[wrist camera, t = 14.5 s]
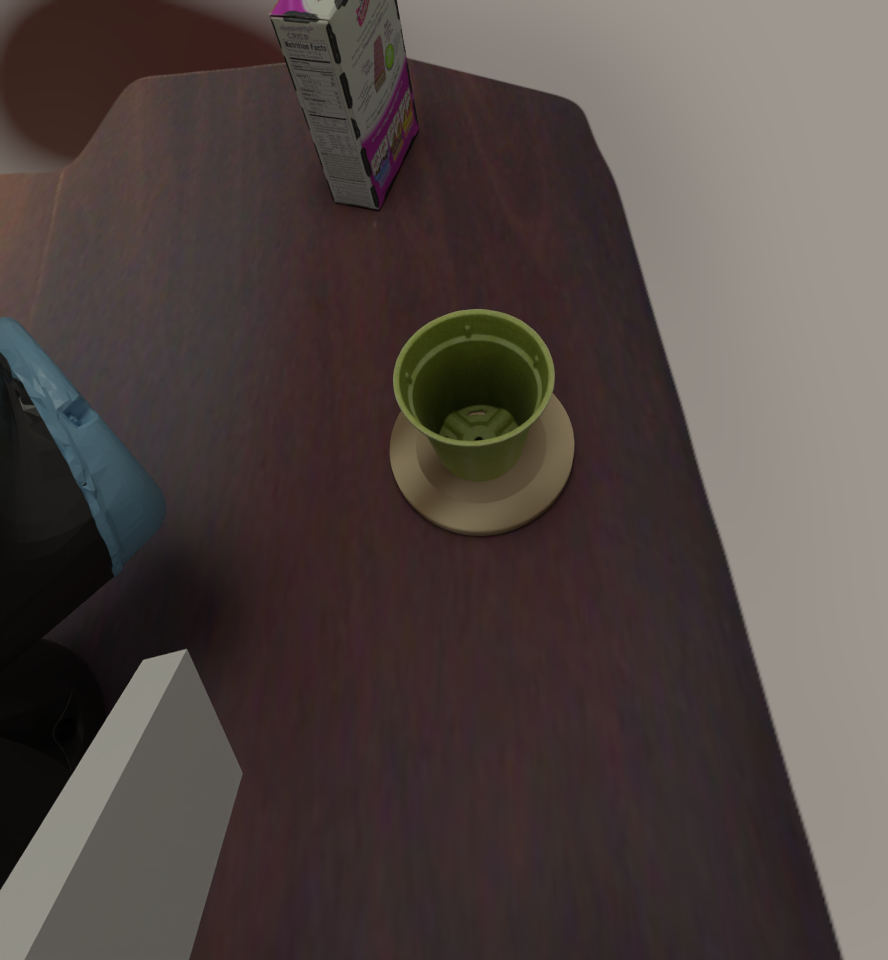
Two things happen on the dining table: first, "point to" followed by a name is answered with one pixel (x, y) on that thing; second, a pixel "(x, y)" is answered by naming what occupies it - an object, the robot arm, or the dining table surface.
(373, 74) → the candy bar box
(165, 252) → the dining table surface
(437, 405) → the plant pot
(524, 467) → the plate
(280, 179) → the dining table surface
